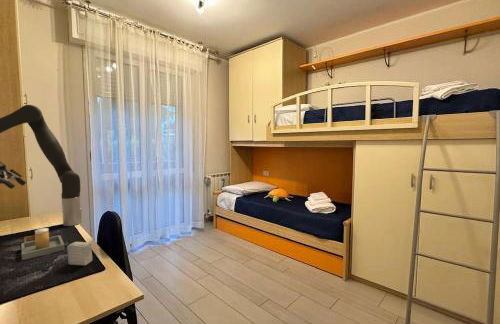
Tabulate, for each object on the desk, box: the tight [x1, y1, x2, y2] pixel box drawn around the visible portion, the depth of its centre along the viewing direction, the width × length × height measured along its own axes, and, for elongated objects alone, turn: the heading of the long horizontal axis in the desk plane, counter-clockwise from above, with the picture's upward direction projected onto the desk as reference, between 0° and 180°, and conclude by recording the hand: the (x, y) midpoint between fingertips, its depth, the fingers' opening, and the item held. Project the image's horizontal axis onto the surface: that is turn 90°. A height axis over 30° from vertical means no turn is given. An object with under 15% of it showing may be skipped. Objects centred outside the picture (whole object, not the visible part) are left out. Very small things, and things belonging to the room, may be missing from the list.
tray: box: [20, 234, 65, 261], centre depth 117 cm, size 15×15×3 cm
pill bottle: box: [34, 227, 50, 250], centre depth 117 cm, size 5×5×9 cm
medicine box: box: [66, 241, 93, 266], centre depth 105 cm, size 8×4×9 cm, turn 84°
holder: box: [23, 234, 35, 243], centre depth 126 cm, size 9×9×2 cm
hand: (19, 185), depth 127 cm, fingers open, 8 cm apart
